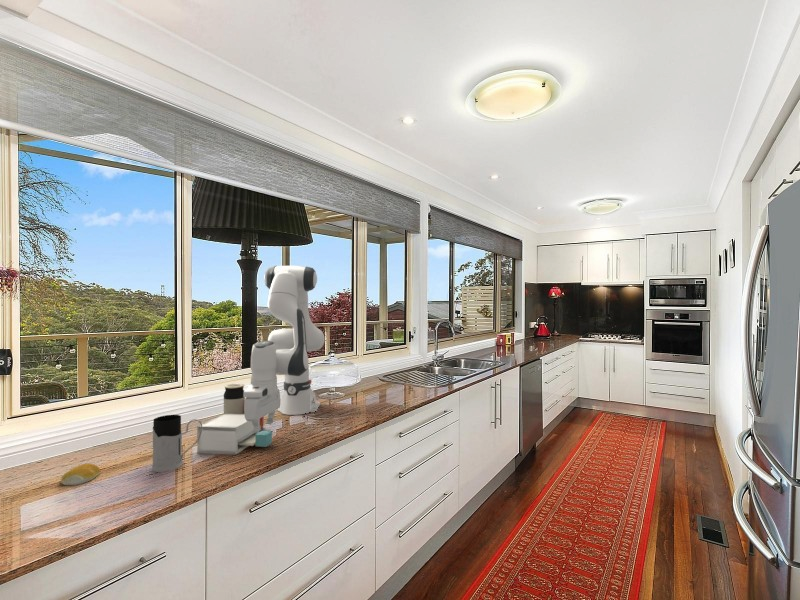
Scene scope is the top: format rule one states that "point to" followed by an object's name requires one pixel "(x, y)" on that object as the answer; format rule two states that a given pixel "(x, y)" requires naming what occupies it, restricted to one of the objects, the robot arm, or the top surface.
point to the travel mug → (234, 399)
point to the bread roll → (80, 474)
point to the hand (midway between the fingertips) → (263, 427)
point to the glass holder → (168, 442)
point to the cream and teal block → (258, 439)
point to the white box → (224, 434)
